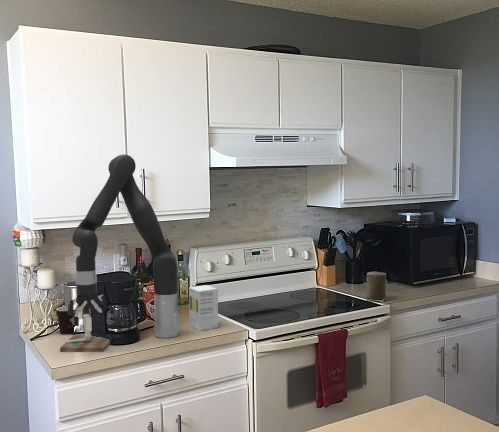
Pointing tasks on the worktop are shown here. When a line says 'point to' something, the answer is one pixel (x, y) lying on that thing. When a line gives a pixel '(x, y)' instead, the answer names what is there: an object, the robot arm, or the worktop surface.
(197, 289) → the supplement box
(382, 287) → the pillar candle
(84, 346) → the dial plate
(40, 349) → the worktop surface
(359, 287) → the worktop surface
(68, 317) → the coffee mug
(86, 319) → the tuning peg
